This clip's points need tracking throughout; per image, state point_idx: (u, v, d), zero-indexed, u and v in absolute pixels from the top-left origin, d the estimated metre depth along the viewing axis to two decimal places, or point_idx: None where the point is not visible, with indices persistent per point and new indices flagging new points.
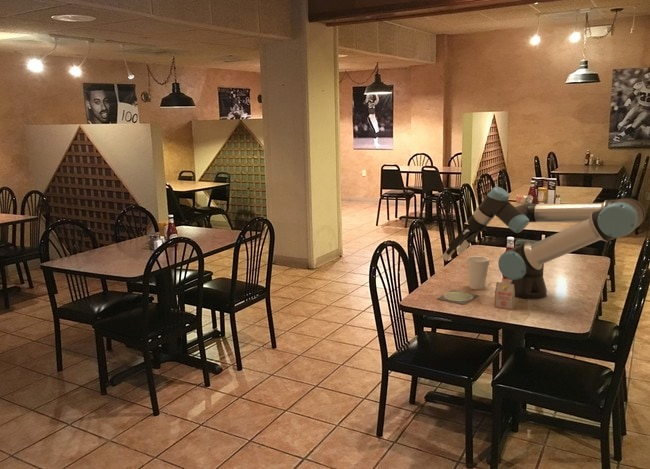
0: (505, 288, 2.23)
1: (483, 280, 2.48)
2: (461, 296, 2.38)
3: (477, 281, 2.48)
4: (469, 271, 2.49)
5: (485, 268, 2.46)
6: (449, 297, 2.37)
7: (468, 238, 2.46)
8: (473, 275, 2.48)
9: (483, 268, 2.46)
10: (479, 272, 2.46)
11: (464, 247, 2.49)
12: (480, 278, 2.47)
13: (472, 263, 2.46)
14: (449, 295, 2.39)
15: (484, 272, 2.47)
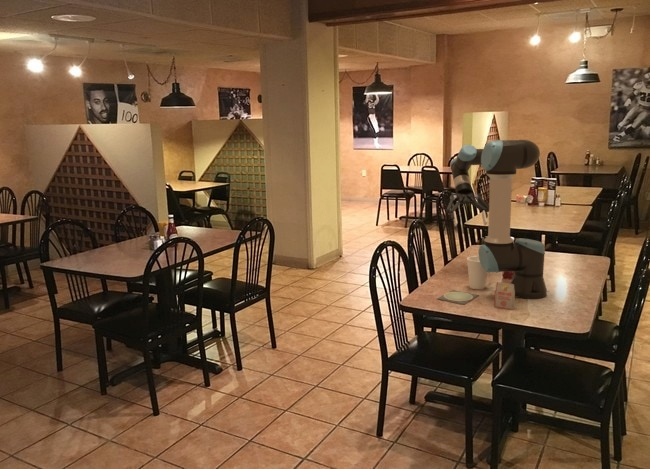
0: (505, 288, 2.23)
1: (483, 280, 2.48)
2: (461, 296, 2.38)
3: (477, 281, 2.48)
4: (469, 271, 2.49)
5: None
6: (449, 297, 2.37)
7: (479, 208, 2.64)
8: (473, 275, 2.48)
9: None
10: (479, 271, 2.46)
11: (483, 216, 2.60)
12: (480, 278, 2.47)
13: (472, 263, 2.46)
14: (449, 295, 2.39)
15: (484, 272, 2.47)
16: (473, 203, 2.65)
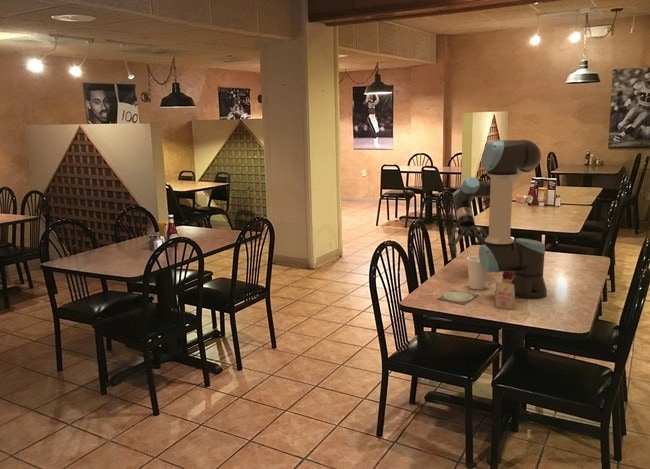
0: (505, 288, 2.23)
1: (483, 280, 2.48)
2: (461, 296, 2.38)
3: (477, 281, 2.48)
4: (469, 271, 2.49)
5: None
6: (449, 297, 2.37)
7: (482, 241, 2.61)
8: (473, 275, 2.48)
9: None
10: (479, 271, 2.46)
11: None
12: (480, 278, 2.47)
13: (472, 263, 2.46)
14: (449, 295, 2.39)
15: (484, 272, 2.47)
16: (475, 236, 2.62)
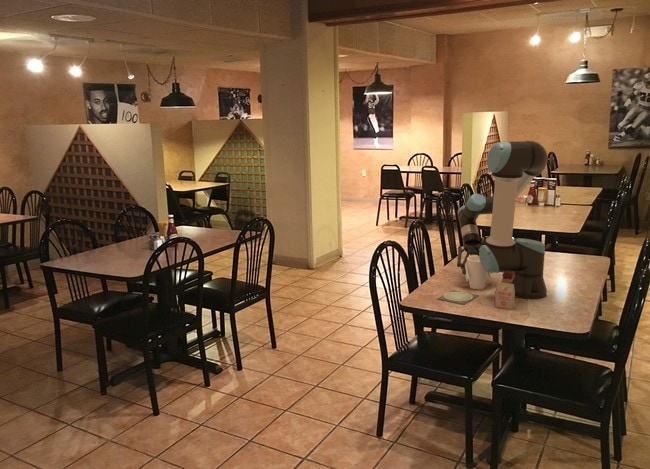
0: (505, 288, 2.23)
1: (483, 280, 2.48)
2: (461, 296, 2.38)
3: (477, 281, 2.48)
4: (469, 271, 2.49)
5: None
6: (449, 297, 2.37)
7: None
8: (473, 275, 2.48)
9: (483, 268, 2.46)
10: (479, 271, 2.46)
11: None
12: (480, 278, 2.47)
13: (472, 263, 2.46)
14: (449, 295, 2.39)
15: (484, 272, 2.47)
16: None
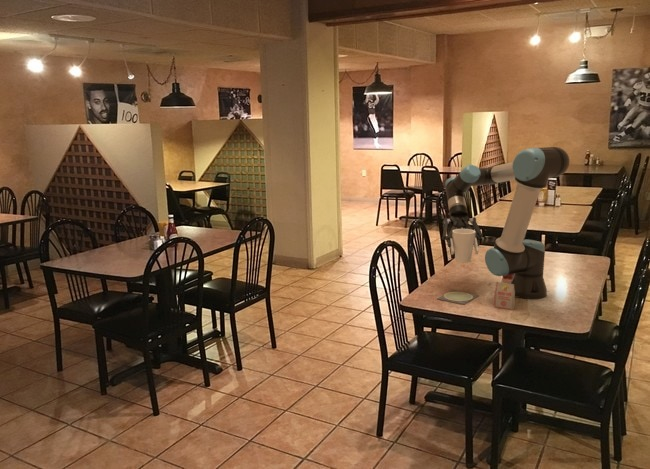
0: (505, 288, 2.23)
1: (469, 253, 2.38)
2: (461, 296, 2.38)
3: (462, 254, 2.38)
4: (454, 244, 2.39)
5: (471, 241, 2.36)
6: (449, 297, 2.37)
7: None
8: (458, 248, 2.38)
9: (469, 240, 2.36)
10: (464, 244, 2.36)
11: (475, 244, 2.39)
12: (465, 251, 2.37)
13: (457, 235, 2.36)
14: (449, 295, 2.39)
15: (470, 245, 2.37)
16: (466, 228, 2.45)
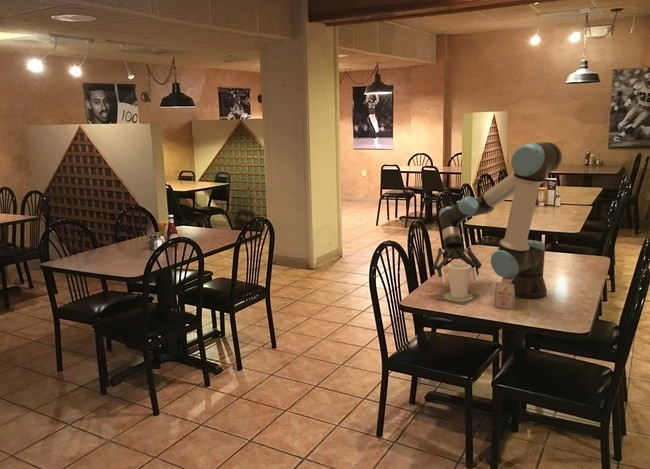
0: (505, 288, 2.23)
1: (465, 288, 2.34)
2: None
3: (458, 289, 2.34)
4: (450, 279, 2.36)
5: (467, 276, 2.33)
6: (449, 297, 2.37)
7: (470, 264, 2.40)
8: (454, 283, 2.34)
9: (464, 276, 2.32)
10: (460, 279, 2.33)
11: (474, 273, 2.36)
12: (461, 286, 2.34)
13: (453, 270, 2.33)
14: (449, 295, 2.39)
15: (466, 280, 2.33)
16: (463, 258, 2.41)
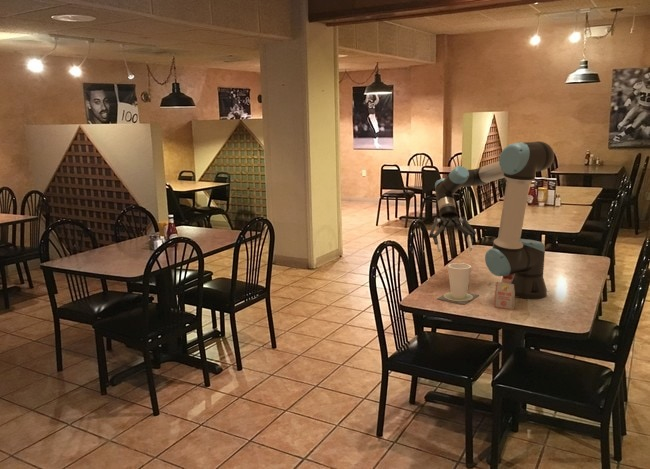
0: (505, 288, 2.23)
1: (465, 288, 2.34)
2: None
3: (458, 289, 2.34)
4: (450, 279, 2.36)
5: (467, 276, 2.33)
6: (449, 297, 2.37)
7: (465, 233, 2.49)
8: (454, 283, 2.34)
9: (465, 276, 2.32)
10: (460, 279, 2.33)
11: (468, 241, 2.45)
12: (461, 286, 2.34)
13: (453, 270, 2.33)
14: (449, 295, 2.39)
15: (466, 280, 2.33)
16: (458, 227, 2.50)
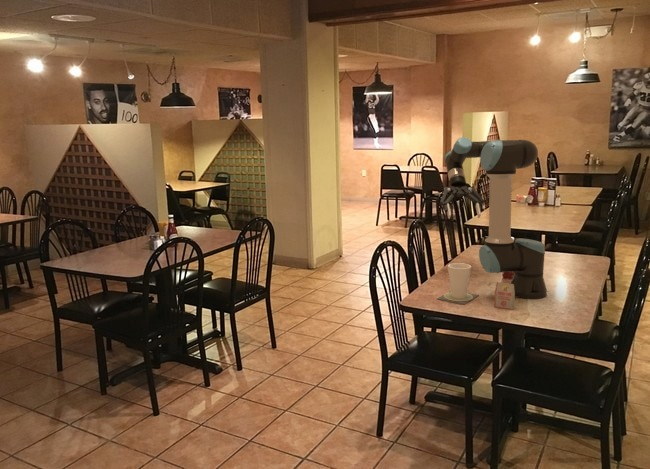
0: (505, 288, 2.23)
1: (465, 288, 2.34)
2: None
3: (458, 289, 2.34)
4: (450, 279, 2.36)
5: (467, 276, 2.33)
6: (449, 297, 2.37)
7: (473, 201, 2.63)
8: (454, 283, 2.34)
9: (465, 276, 2.32)
10: (460, 279, 2.33)
11: (477, 208, 2.59)
12: (462, 286, 2.34)
13: (453, 270, 2.33)
14: (449, 295, 2.39)
15: (466, 280, 2.33)
16: (467, 196, 2.64)
